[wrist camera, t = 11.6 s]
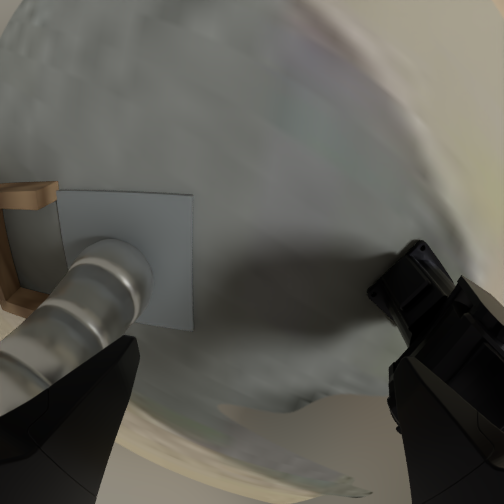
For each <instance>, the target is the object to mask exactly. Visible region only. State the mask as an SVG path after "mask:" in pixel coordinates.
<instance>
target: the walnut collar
mask: <svg viewBox="0 0 504 504" xmlns="http://www.w3.org/2000/svg"><path fill="white" fill-rule="evenodd" d="M57 190H59V187H58V181H46V182H20V183H2V184H0V304H1V307H2V309H3V310H4V311H7V312H9V313H12V314H15V315H18V316H20V317H23V318H26V319H27V318H28V317H29V316H30V315H31V314H32V313H33V312H34V311H35V310H36V309H37V308H38V307H39V306H40V305H41V304H42V303H43V302H44V301H45V300H46V299H47V298H48V297H49V294H45V293H41V292H37V291H33V290H29V289H26V288H22V287H21V286H20V283H19V280H18V276H17V273H16V269H15V266H14V262H13V258H12V254H11V250H10V246H9V242H8V237H7V233H6V228H5V222H4V217H3V211H2V209H24V210H39V209H41V208H43V207H45V206H46V205H48V204H50V203H52V202H54V201H56V200H57V196H56V191H57Z"/></svg>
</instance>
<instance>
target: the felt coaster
mask: <svg viewBox="0 0 504 504" xmlns="http://www.w3.org/2000/svg"><path fill="white" fill-rule="evenodd" d="M56 196H57V206H58V214H59V221H60V228H61V234H62V240H63V246H64V251H65V257H66V262H67V266H68V270H69V268H70V267H71V265H72V264H73V262H74V261H75V259H76V258H77V257H78V256H79V254H80V253H81V252H82V251H83V250H84V249H85V248H87V247H88V246H90V245H92V244H94V243H96V242H99V241H101V240H104V239H117V240H121V241H124V242H126V243H129V244H131V245H133V246H134V247H136V248H137V249H138V250H139V251H140V252H141V253H142V254H143V255H144V257H145V258H146V259H147V261H148V263H149V265H150V267H151V270H152V273H153V278H154V285H153V290H152V294H151V298H150V301H149V304H148V305H147V307H146V309H145V310H144V311H143V312H142V314H141V315H140V316H139V317H138V319H137V320H136V321H134V322H136V323H141V324H147V325H153V326H159V327H165V328H171V329H178V330H185V331H192V332H193V330H194V322H193V282H192V226H193V195H188V194H173V193H156V192H135V191H107V190H57V191H56Z"/></svg>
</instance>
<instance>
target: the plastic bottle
mask: <svg viewBox="0 0 504 504" xmlns="http://www.w3.org/2000/svg"><path fill="white" fill-rule="evenodd" d="M153 285H154V278H153V273H152V270H151V267H150V265H149V263H148V261H147V259H146V258H145V257H144V255H143V254H142V253H141V252H140V251H139V250H138V249H137V248H136V247H134V246H133V245H131V244H129V243H126V242H124V241H121V240H117V239H104V240H101V241H99V242H96V243H94V244H92V245H90V246H88V247H87V248H85V249H84V250H83V251H82V252H81V253H80V254H79V256H78V257H77V258H76V259H75V261H74V262H73V264H72V265H71V267H70V268H69V270H68V272H67V274H66V275H65V276H64V278H63V279H62V280H61V281H60V282H59V284H58V285H57V286H56V288H55V289H54V290H53V291H52V293H51V294H50V295H49V297H48V298H47V299H46V300H45V301H44V302H43V303H42V304H41V305H40V306H39V307H38V308H37V309H36V310H35V311H34V312H33V313H32V314H31V315H30V316H29V317H28V318H27V319H26V320H25V321H24V322H23V323H22V324H21V325H20V326H18V327H17V328H16V329H15V330H13V331H12V332H11V333H10V334H9V335H8V336H6V337H5V338H4V339H3V340H2V341H0V416H2V415H4V414H6V413H7V412H9V411H11V410H13V409H15V408H17V407H18V406H20V405H22V404H24V403H25V402H27V401H29V400H30V399H32V398H33V397H35V396H36V395H38V394H39V393H41V392H42V391H44V390H45V389H46V388H49V386H51V385H52V384H54V383H55V382H57V381H58V380H59V379H61V378H62V377H64V376H65V375H67V374H68V373H69V372H71V371H72V370H74V369H75V368H77V367H78V366H79V365H81V364H82V363H84V362H85V361H87V360H88V359H89V358H91V357H92V356H94V355H95V354H97V353H98V352H100V351H101V350H102V349H104V348H105V347H107V346H108V345H110V344H111V343H112V342H114V341H115V340H117V339H118V338H120V337H121V336H123V334H124V333H125V331H126V330H127V329H128V327H129V326H130V325H131V324H132V323H133V322H134V321H136V320H137V319H138V317H139V316H140V315H141V314H142V312H143V311H144V310H145V309H146V307H147V305H148V304H149V301H150V298H151V294H152V290H153Z"/></svg>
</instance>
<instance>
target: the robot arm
mask: <svg viewBox="0 0 504 504" xmlns="http://www.w3.org/2000/svg"><path fill="white" fill-rule="evenodd" d="M422 245H423V248H421V249H420V247H421V246H422ZM457 282H458V284H457V285H456V286H455V285H454V283H453V281H452V279H451V278H450V276H449V275H448V273H447V272H446V270H445V269H444V267H443V266H442V264H441V263H440V261H439V260H438V258H437V257H436V256H435V254H434V253H433V251H432V250H431V249H430V247H429V246H428V244H427V243H426V242H424V241H423V240H421V241H419V242H417V243H416V244H415V245H414V246H413V247H412V248H411V249H410V250H409V251H408V252H407V253H406V254H405V255H404V256H403V257H402V258H401V259H400V260H399V261H398V262H397V263H396V264H395V265H394V266H393V267H392V268H391V269H390V270H389V271H388V272H386V273H385V274H384V275H383V276H382V277H381V278H380V279H379V280H378V281H377V282H376V283H375V284H374V285H373V286H371V287H370V288H369V289H368V291H367V295H368V297H369V298H370V299H371V300H372V301H373V302H374V303H375V304H376V305H377V306H378V307H379V308H380V309H381V310H382V311H384V312H385V313H386V314H387V315H388V316H389V317H390V318H391V319H392V320H393V321H394V322H395V323H396V325H397V327H398V329H399V331H400V333H401V335H402V337H403V339H404V341H405V343H406V345H407V347H408V349H407V350H406V351H405V352H404V353H403V354H402V355H401V356H400V358H399V359H398V360H397V361H396V362H393V363H392V364H391V366H390V367H389V397H388V398H387V404H388V406H389V408H390V412H391V415H392V417H393V419H394V420H395V422H396V423H397V425H398V426H397V427H396V430H397V431H398V432H399V433H400V434H402V439H403V444H404V450H405V456H406V462H407V468H408V474H409V482H410V489H411V498H412V504H504V307H503V306H502V305H501V304H500V303H499V302H498V301H497V300H496V299H495V298H494V297H493V296H492V295H491V294H490V293H488V292H487V291H485V290H484V289H482V288H481V287H479V286H478V285H476V284H475V283H473V282H472V281H470V280H469V279H467V278H466V277H464V276H463V275H461V277H460V278H459V280H458V281H457ZM373 292H375V293H374V294H372V293H373ZM139 360H140V353H139V348H138V344H137V340H136V338H135V337H134V336H129V335H123V336H121V337H120V338H118V339H117V340H115V341H114V342H112V343H111V344H110V345H108V346H107V347H105V348H104V349H102V350H101V351H100V352H98V353H97V354H95V355H94V356H92V357H91V358H89V359H88V360H87V361H85V362H84V363H82V364H81V365H79V366H78V367H77V368H75V369H74V370H72V371H71V372H69V373H68V374H67V375H65V376H64V377H62V378H61V379H59V380H58V381H57V382H55V383H54V384H52V385H51V386H49V388H46V389H45V390H44V391H42V392H41V393H39V394H38V395H36V396H35V397H33V398H32V399H30V400H29V401H27V402H25V403H24V404H22V405H20V406H18V407H17V408H15V409H13V410H11V411H9V412H7V413H6V414H4V415H2V416H0V504H95V502H96V496H97V494H98V491H99V488H100V484H101V481H102V478H103V475H104V471H105V468H106V465H107V462H108V459H109V456H110V453H111V450H112V447H113V444H114V441H115V438H116V436H117V433H118V430H119V427H120V424H121V421H122V419H123V416H124V413H125V410H126V408H127V405H128V402H129V399H130V396H131V392H132V388H133V384H134V380H135V376H136V372H137V368H138V364H139Z"/></svg>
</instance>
